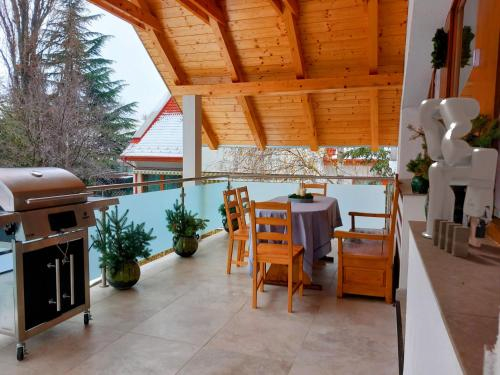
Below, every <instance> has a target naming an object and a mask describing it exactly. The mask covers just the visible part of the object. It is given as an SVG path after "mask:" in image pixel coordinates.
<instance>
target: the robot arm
mask: <svg viewBox="0 0 500 375" xmlns="http://www.w3.org/2000/svg"><path fill="white" fill-rule="evenodd" d="M480 110H481V107H480V103H479V101H478V100H476V99H475V98H473V97H472V98H471V97H448V98H429V99H425V100H423V101H422V102H421V103H420V105H419V107H418V121H419V124H420V127H421V128H422V131H423V133H424V136H425V142H426V147H427V152H428V156H429V158H430V160H432V161H433V163H432V164H431V165H430V166H429V168H428V181H429V183H428V184H429V192H428V194H429V195H428V209H427V220H426V231H422V232H421V235H422V236H423V237H425V238H428V239H432V234H433V222H434V219H447V220H448V221H453V222H454V212H455V211H454V210H455V202H456V201H455V200H456V196H455V193H454V190H453V189H452V187H451V186H467V189H466V192H465V197H464V201H463V202H464V203H463V208H462V210H463V213H465V214H466V217H467V227H469V228H470V225H471V216H472V217H475V218H477V226H476V229H475V238H481V239H485V238H486V233H487V232H486V230H487V228H488V225H489V224H490V223H491V222H492V221H493V219H492V216H493V210H494V189H495V182H496V180H495V179H496V172H497V165H498V164H497V163H498V157H499V155H498V154H499V152H498V150H497V149H496V148H485V147H477V146H476V147H475V146H473V147H472V146H470V145H469V143H468V142H467V141H466V140H463V139H460V138H463V137H464V136H466V135H467V134H469V133H470V132H471V131H472V129H473V124H472V122H471V121H472V120H474V119H476V118H477V117H479V115H480V112H481V111H480ZM439 120H443V121H442V122H443V124H444V125H443V124H442V122H440V121H439ZM480 217H481V218H480ZM481 220H482V221H481Z"/></svg>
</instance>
